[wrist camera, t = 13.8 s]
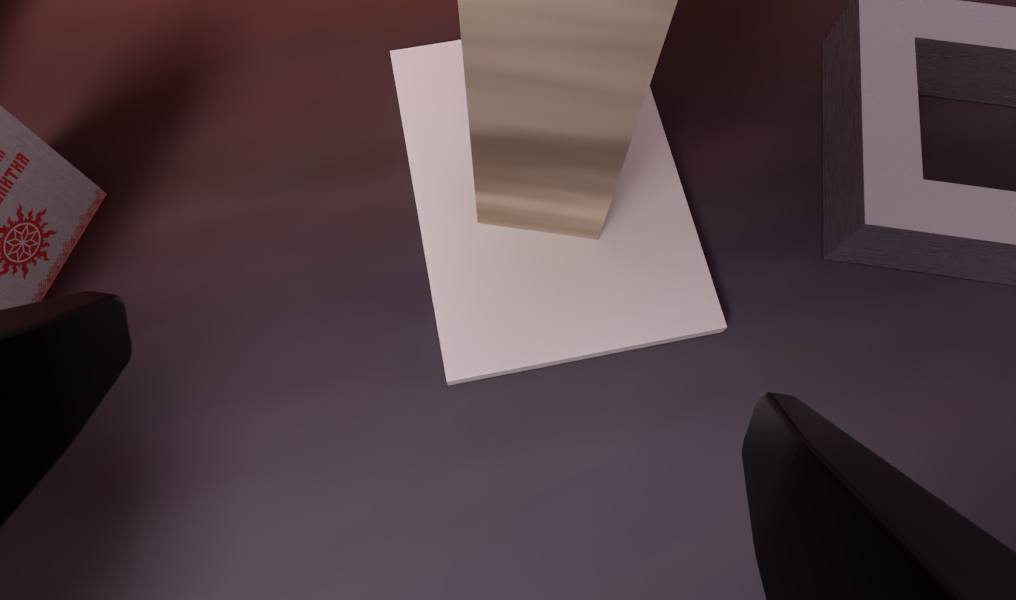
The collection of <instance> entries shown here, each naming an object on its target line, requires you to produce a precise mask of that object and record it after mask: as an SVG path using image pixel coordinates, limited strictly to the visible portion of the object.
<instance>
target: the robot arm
mask: <svg viewBox="0 0 1016 600" xmlns="http://www.w3.org/2000/svg"><path fill="white" fill-rule="evenodd" d="M131 353H132V342H131V336H130V330H129V324H128V318H127V312H126V307H125V303H124V302H123V300H122V299H121V298H120V297H119V296H117V295H114V294H108V293H101V292H95V291H87V292H82V293H77V294H73V295H68V296H63V297H59V298H54V299H49V300H44V301H40V302H35V303H30V304H26V305H21V306H16V307H11V308H7V309H2V310H0V528H1V527H2V526H3V525H4V524H5V523H6V521H7V520H8V519H9V518H10V517H11V516H12V514H13V513H14V512H15V511H16V510H17V508H18V507H19V506H20V505H21V504H22V503H23V501H24V500H25V499H26V498H27V497H28V496H29V494H30V493H31V492H32V491H33V490H34V489H35V487H36V486H37V485H38V484H39V483H40V482H41V480H42V479H43V478H44V477H45V476H46V475H47V473H48V472H49V471H50V470H51V469H52V468H53V466H54V465H55V464H56V463H57V462H58V460H59V459H60V458H61V457H62V456H63V454H64V453H65V452H66V451H67V449H68V448H69V447H70V446H71V444H72V443H73V441H74V440H75V439H76V437H77V436H78V435H79V433H80V432H81V430H82V429H83V428H84V426H85V425H86V423H87V422H88V420H89V419H90V417H91V416H92V415H93V413H94V412H95V410H96V409H97V407H98V406H99V404H100V403H101V402H102V400H103V399H104V397H105V396H106V394H107V393H108V391H109V390H110V389H111V387H112V386H113V384H114V383H115V381H116V380H117V378H118V377H119V376H120V374H121V373H122V371H123V370H124V368H125V367H126V365H127V364H128V362H129V360H130V357H131ZM742 460H743V467H744V475H745V482H746V490H747V498H748V505H749V513H750V520H751V528H752V535H753V542H754V549H755V555H756V559H757V564H758V568H759V573H760V577H761V580H762V584H763V588H764V592H765V596H766V600H1016V553H1015V552H1014V551H1013V550H1011V549H1010V548H1008V547H1007V546H1005V545H1004V544H1003V543H1001V542H1000V541H998V540H997V539H996V538H994V537H993V536H991V535H990V534H988V533H987V532H986V531H984V530H983V529H981V528H980V527H979V526H977V525H976V524H974V523H973V522H971V521H970V520H969V519H967V518H966V517H964V516H963V515H962V514H960V513H959V512H957V511H956V510H954V509H953V508H952V507H950V506H949V505H947V504H946V503H945V502H943V501H942V500H940V499H939V498H937V497H936V496H935V495H933V494H932V493H930V492H929V491H928V490H926V489H925V488H923V487H922V486H920V485H919V484H918V483H916V482H915V481H913V480H912V479H911V478H909V477H908V476H906V475H905V474H903V473H902V472H901V471H899V470H898V469H896V468H895V467H894V466H892V465H891V464H889V463H888V462H886V461H885V460H884V459H882V458H881V457H879V456H878V455H877V454H875V453H874V452H872V451H871V450H869V449H868V448H867V447H865V446H864V445H862V444H861V443H860V442H858V441H857V440H855V439H854V438H852V437H851V436H850V435H848V434H847V433H845V432H844V431H843V430H841V429H840V428H838V427H837V426H835V425H834V424H833V423H831V422H830V421H828V420H827V419H826V418H824V417H823V416H821V415H820V414H818V413H817V412H816V411H814V410H813V409H811V408H810V407H809V406H807V405H806V404H804V403H803V402H801V401H800V400H799V399H797V398H796V397H794V396H790V395H784V394H777V393H770V392H765V393H763V394H762V395H761V396H760V397H759V399H758V400H757V403H756V406H755V409H754V411H753V414H752V417H751V420H750V423H749V426H748V429H747V432H746V435H745V438H744V441H743V447H742Z"/></svg>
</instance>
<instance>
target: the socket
mask: <svg viewBox="0 0 1016 600" xmlns="http://www.w3.org/2000/svg"><path fill="white" fill-rule="evenodd" d="M918 94H919V95H927V96H934V97H942V98H950V99H958V100H965V101H973V102H981V103H989V104H996V105H1004V106H1012V107H1016V7H1009V6H1001V5H993V4H984V3H976V2H968V1H960V0H850V2H849V3H848V5H847V6H846V8H845V9H844V11H843V12H842V14H841V15H840V17H839V18H838V20H837V21H836V23H835V24H834V26H833V28H832V29H831V31H830V32H829V34H828V35H827V37H826V38H825V40H824V41H823V43H822V114H823V259H830V260H837V261H844V262H851V263H858V264H865V265H872V266H879V267H886V268H894V269H901V270H908V271H915V272H922V273H929V274H936V275H943V276H950V277H958V278H965V279H972V280H979V281H986V282H993V283H1000V284H1007V285H1014V286H1016V192H1014V191H1007V190H999V189H992V188H984V187H977V186H969V185H962V184H955V183H947V182H940V181H932V180H925V179H923V168H922V151H921V135H920V118H919V102H918Z"/></svg>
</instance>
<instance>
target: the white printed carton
mask: <svg viewBox="0 0 1016 600" xmlns="http://www.w3.org/2000/svg"><path fill="white" fill-rule="evenodd" d="M106 195H107V194H106V193H105V192H104V191H103V190H102V189H100V188H99V187H98V186H97V185H96V184H94V183H93V182H92V181H91V180H90V179H88V178H87V177H86V176H85V175H84V174H82V173H81V172H80V171H79V170H78V169H76V168H75V167H74V166H73V165H72V164H70V163H69V162H68V161H67V160H66V159H64V158H63V157H62V156H61V155H60V154H58V153H57V152H56V151H55V150H53V149H52V148H51V147H50V146H49V145H47V144H46V143H45V142H44V141H43V140H41V139H40V138H39V137H38V136H37V135H35V134H34V133H33V132H32V131H31V130H29V129H28V128H27V127H26V126H25V125H23V124H22V123H21V122H20V121H19V120H17V119H16V118H15V117H14V116H13V115H11V114H10V113H9V112H8V111H6V110H5V109H4V108H3V107H2V106H0V310H2V309H7V308H11V307H16V306H21V305H26V304H30V303H35V302H40V301H42V300H43V299H44V297H45V295H46V294H47V292H48V290H49V289H50V287H51V285H52V284H53V282H54V281H55V279H56V277H57V276H58V274H59V272H60V271H61V269H62V267H63V266H64V264H65V262H66V261H67V259H68V258H69V256H70V254H71V253H72V251H73V249H74V248H75V246H76V244H77V243H78V241H79V239H80V238H81V236H82V235H83V233H84V231H85V230H86V228H87V226H88V225H89V223H90V221H91V220H92V218H93V217H94V215H95V213H96V212H97V210H98V208H99V207H100V205H101V203H102V202H103V200H104V198H105V197H106Z"/></svg>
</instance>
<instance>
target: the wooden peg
mask: <svg viewBox="0 0 1016 600" xmlns="http://www.w3.org/2000/svg"><path fill="white" fill-rule="evenodd" d="M677 1H678V0H458V9H459V20H460V31H461V42H462V53H463V65H464V76H465V87H466V98H467V109H468V121H469V132H470V143H471V154H472V165H473V177H474V188H475V199H476V210H477V221H478V223H481V224H488V225H495V226H502V227H510V228H517V229H524V230H531V231H539V232H546V233H553V234H560V235H568V236H575V237H582V238H589V239H596V240H598V239H599V236H600V233H601V230H602V227H603V224H604V221H605V218H606V215H607V212H608V209H609V206H610V203H611V200H612V197H613V194H614V191H615V188H616V185H617V182H618V179H619V176H620V173H621V170H622V167H623V164H624V161H625V158H626V155H627V152H628V149H629V146H630V143H631V140H632V137H633V134H634V131H635V128H636V125H637V122H638V119H639V116H640V113H641V110H642V107H643V104H644V101H645V98H646V95H647V92H648V89H649V86H650V83H651V80H652V77H653V74H654V71H655V68H656V65H657V62H658V59H659V56H660V53H661V50H662V47H663V44H664V41H665V38H666V35H667V32H668V28H669V25H670V22H671V19H672V16H673V13H674V10H675V7H676V4H677Z"/></svg>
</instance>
